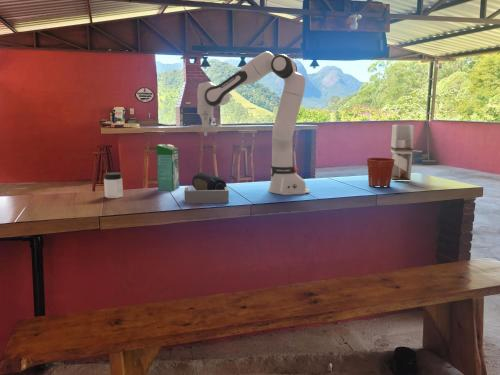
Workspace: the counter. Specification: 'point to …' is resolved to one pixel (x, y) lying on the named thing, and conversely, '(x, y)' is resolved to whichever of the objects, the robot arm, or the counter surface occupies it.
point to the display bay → (206, 196)
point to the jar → (113, 185)
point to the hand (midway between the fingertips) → (205, 135)
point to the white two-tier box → (402, 151)
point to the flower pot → (380, 171)
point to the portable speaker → (208, 182)
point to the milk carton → (167, 167)
